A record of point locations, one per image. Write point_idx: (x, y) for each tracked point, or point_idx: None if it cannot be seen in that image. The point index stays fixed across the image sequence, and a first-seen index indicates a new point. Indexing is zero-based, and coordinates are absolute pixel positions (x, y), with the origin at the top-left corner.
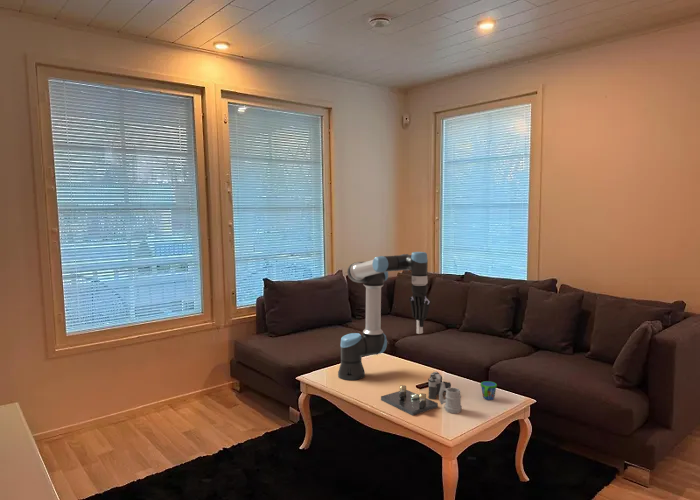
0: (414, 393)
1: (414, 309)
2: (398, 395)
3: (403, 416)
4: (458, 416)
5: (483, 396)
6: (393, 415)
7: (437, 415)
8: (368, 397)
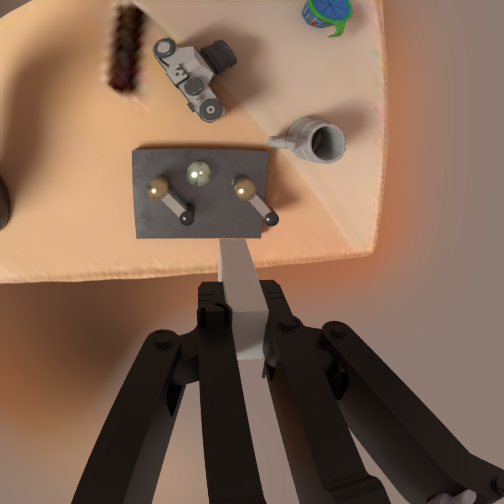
0: (173, 150)
1: (161, 447)
2: None
3: None
4: None
5: (312, 24)
6: None
7: (298, 189)
8: (107, 246)
